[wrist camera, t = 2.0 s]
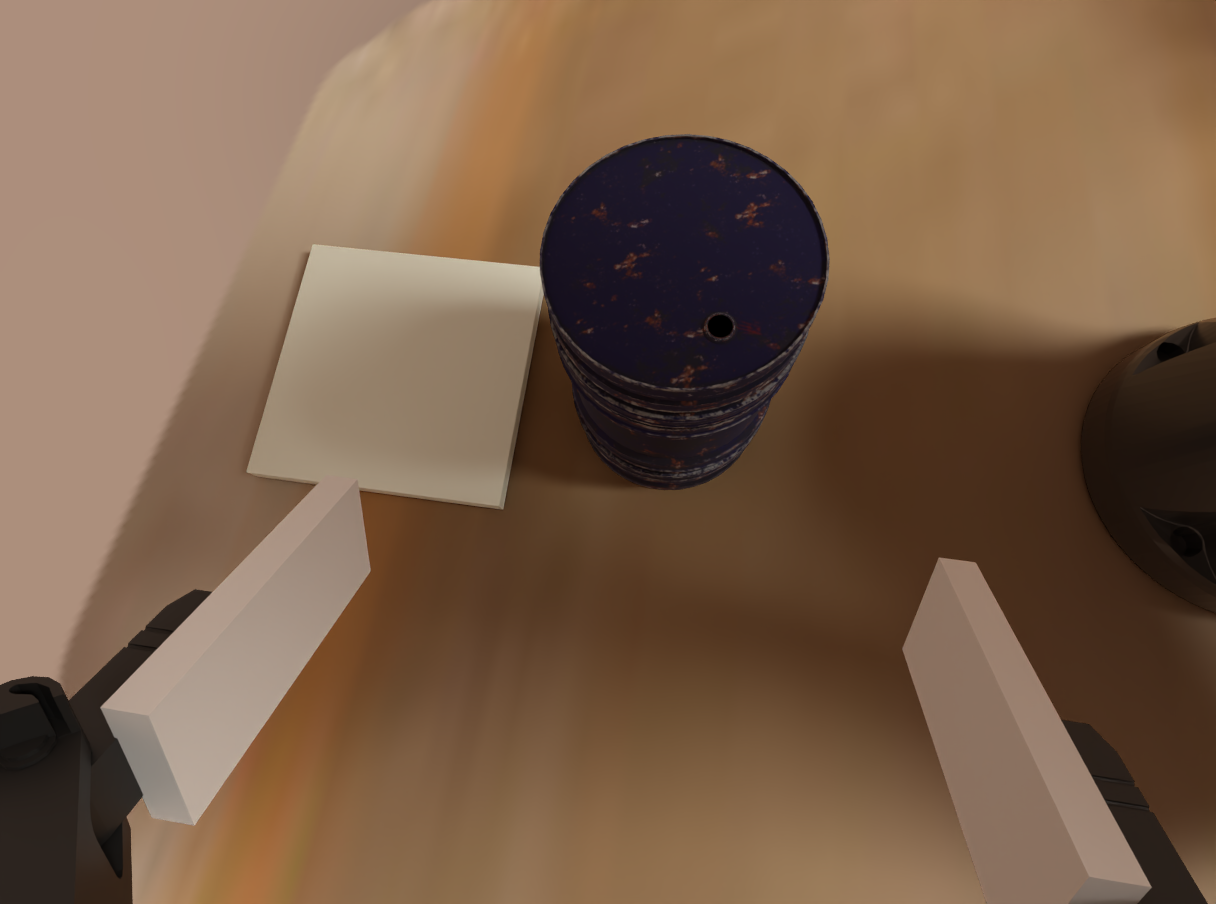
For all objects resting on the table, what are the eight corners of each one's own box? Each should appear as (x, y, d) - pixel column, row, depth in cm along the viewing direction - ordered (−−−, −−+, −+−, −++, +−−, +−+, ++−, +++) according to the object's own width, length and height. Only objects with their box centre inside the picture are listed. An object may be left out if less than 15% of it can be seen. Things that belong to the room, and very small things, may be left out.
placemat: (546, 276, 39) (544, 267, 38) (503, 509, 35) (499, 506, 34) (320, 253, 40) (312, 244, 39) (256, 476, 37) (245, 472, 36)
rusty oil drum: (551, 362, 38) (493, 194, 23) (709, 296, 38) (748, 91, 24) (623, 522, 35) (606, 444, 21) (791, 448, 36) (889, 322, 21)
